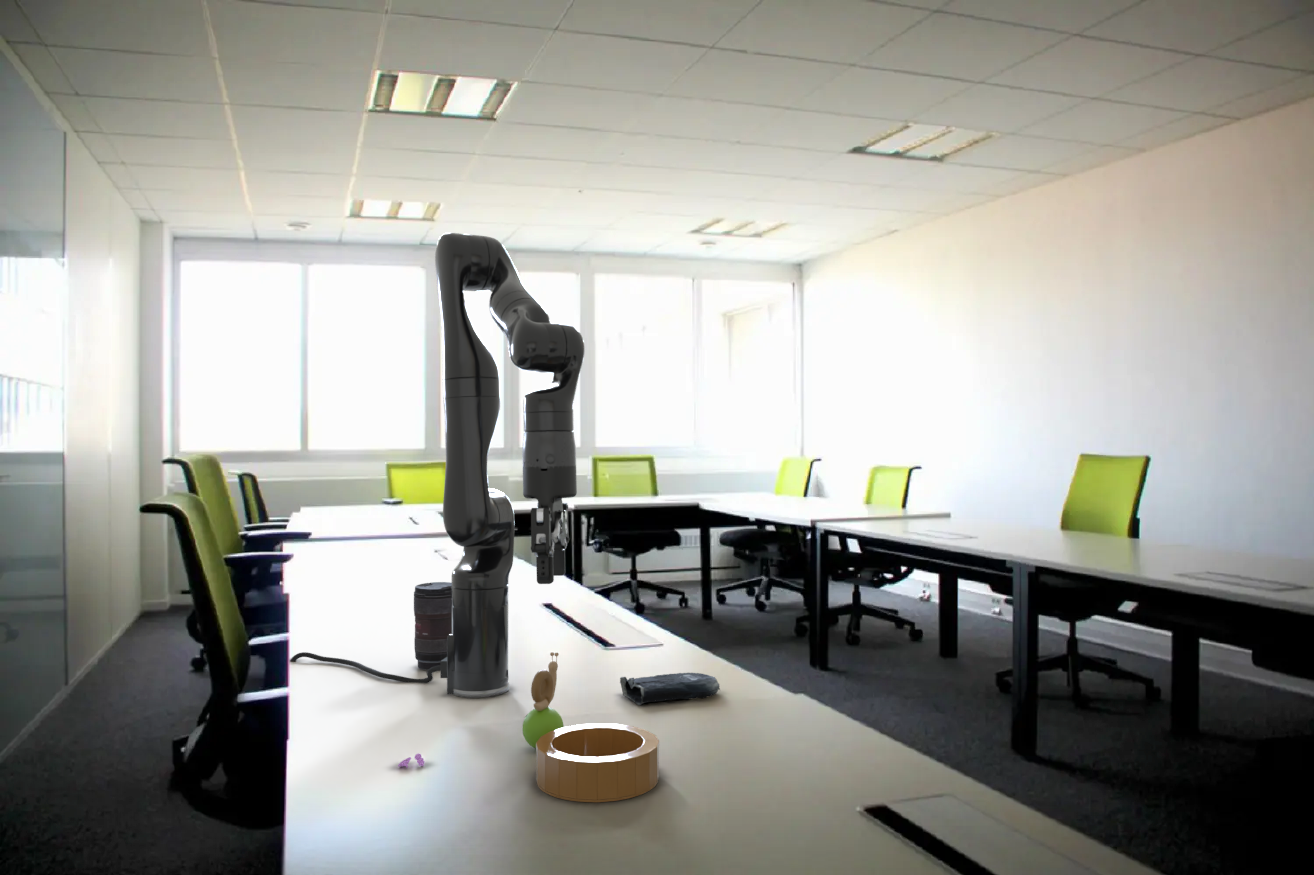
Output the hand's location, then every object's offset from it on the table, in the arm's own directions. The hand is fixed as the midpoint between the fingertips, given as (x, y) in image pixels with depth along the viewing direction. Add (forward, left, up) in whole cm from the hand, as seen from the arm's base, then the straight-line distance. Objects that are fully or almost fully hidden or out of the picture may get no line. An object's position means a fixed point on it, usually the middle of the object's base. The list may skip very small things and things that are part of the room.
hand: (551, 579), depth 128 cm
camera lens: (-30, +37, -22) cm, 52 cm away
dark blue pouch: (+15, +21, -22) cm, 34 cm away
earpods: (-15, -15, -22) cm, 30 cm away
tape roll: (+9, -17, -21) cm, 29 cm away
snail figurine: (0, -6, -22) cm, 23 cm away
